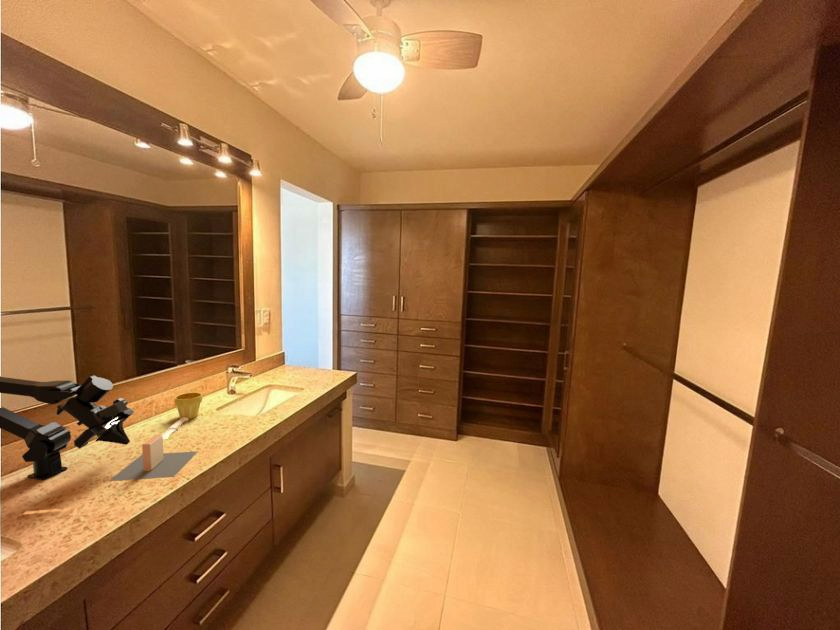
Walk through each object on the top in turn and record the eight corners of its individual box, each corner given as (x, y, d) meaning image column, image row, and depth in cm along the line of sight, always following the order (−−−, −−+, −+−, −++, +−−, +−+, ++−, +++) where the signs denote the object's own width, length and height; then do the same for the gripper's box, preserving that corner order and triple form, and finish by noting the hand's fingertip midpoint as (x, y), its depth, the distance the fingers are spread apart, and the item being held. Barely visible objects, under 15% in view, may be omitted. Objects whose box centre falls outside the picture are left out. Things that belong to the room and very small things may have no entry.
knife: (159, 452, 121) (135, 453, 120) (160, 456, 121) (136, 457, 120) (200, 416, 151) (181, 416, 149) (201, 419, 151) (182, 420, 150)
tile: (143, 471, 109) (142, 444, 108) (156, 459, 116) (155, 434, 115) (151, 470, 109) (150, 444, 109) (164, 459, 116) (162, 434, 115)
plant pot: (207, 412, 159) (207, 392, 158) (193, 421, 149) (192, 399, 148) (185, 412, 159) (184, 391, 158) (169, 421, 148) (168, 399, 147)
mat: (108, 482, 103) (108, 480, 103) (141, 456, 119) (141, 454, 119) (174, 478, 107) (173, 476, 107) (198, 453, 122) (198, 451, 122)
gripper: (82, 404, 99) (127, 438, 102) (125, 385, 117) (163, 414, 120) (53, 432, 98) (99, 465, 101) (101, 408, 117) (139, 437, 120)
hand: (128, 443), depth 111 cm, fingers closed
